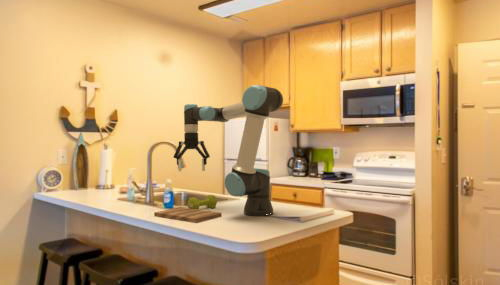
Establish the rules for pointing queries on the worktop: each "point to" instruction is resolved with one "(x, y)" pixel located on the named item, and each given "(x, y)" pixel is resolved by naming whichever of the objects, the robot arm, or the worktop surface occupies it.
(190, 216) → the board
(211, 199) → the dumbbell
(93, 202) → the worktop surface
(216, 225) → the worktop surface
